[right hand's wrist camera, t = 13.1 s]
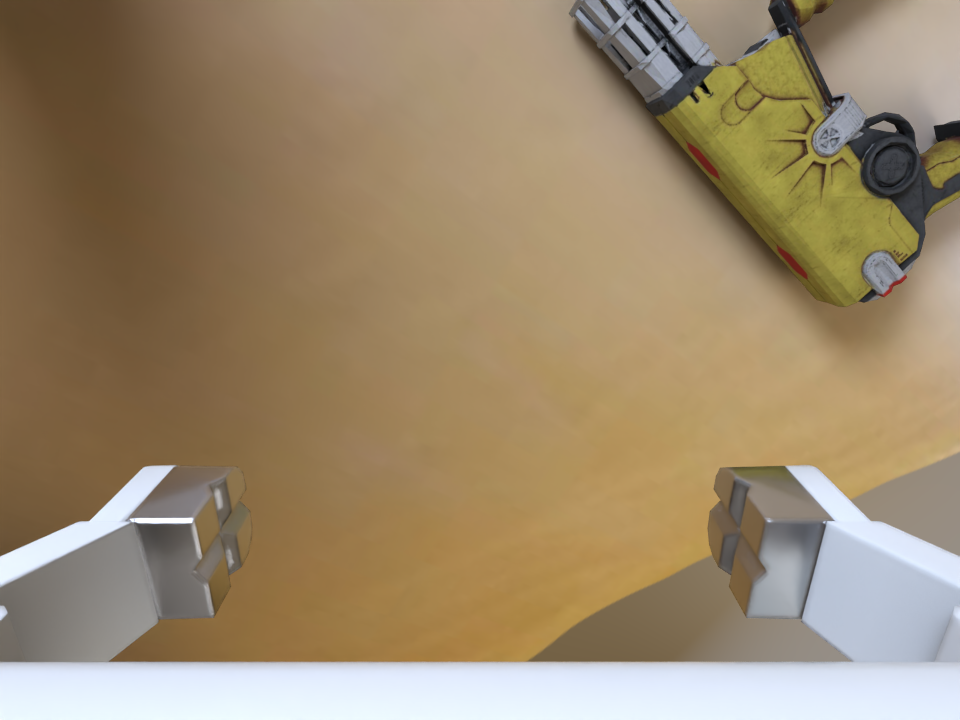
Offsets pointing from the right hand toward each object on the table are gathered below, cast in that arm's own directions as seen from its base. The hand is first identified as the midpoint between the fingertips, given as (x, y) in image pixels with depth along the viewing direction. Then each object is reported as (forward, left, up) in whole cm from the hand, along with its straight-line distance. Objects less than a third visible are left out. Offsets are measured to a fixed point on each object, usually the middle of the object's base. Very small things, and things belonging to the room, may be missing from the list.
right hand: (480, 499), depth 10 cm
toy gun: (-9, +19, -30) cm, 36 cm away
